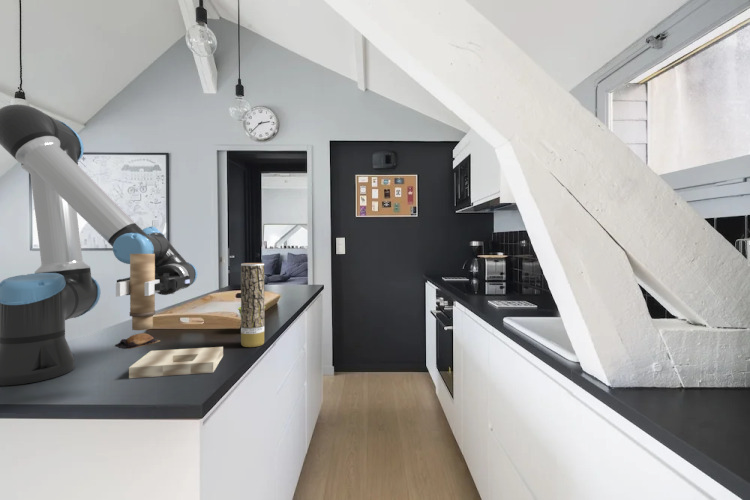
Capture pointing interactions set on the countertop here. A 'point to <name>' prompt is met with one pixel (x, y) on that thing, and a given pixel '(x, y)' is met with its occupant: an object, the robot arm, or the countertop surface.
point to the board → (177, 362)
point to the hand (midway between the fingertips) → (132, 289)
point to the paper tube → (252, 304)
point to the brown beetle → (136, 341)
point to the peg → (141, 291)
